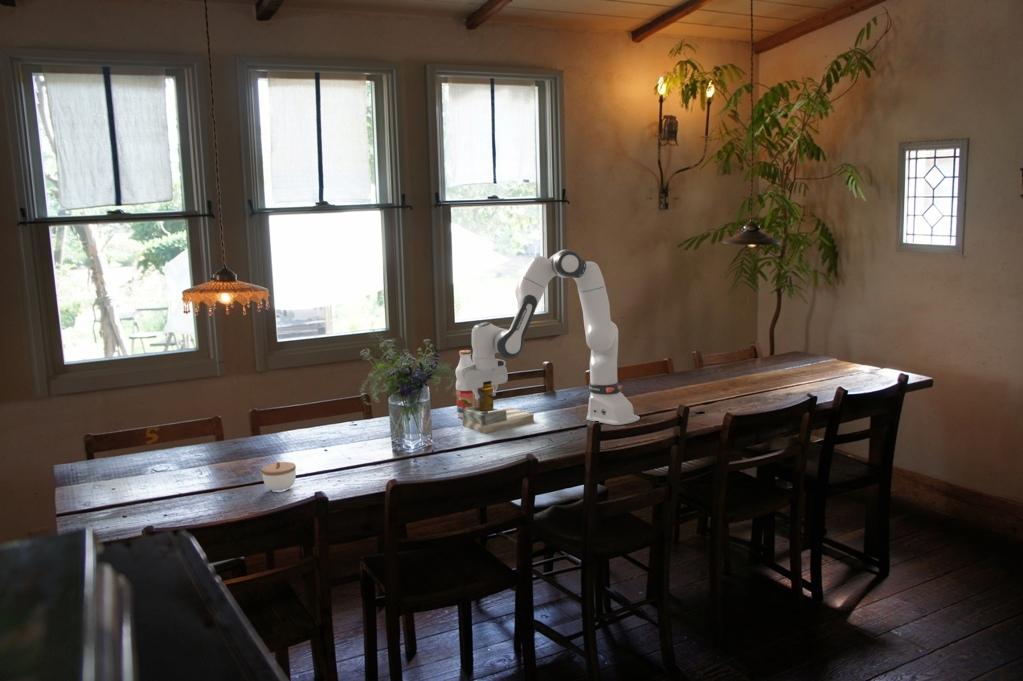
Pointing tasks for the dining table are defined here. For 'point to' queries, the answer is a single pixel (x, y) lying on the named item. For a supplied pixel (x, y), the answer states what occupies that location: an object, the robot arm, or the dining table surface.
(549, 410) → the dining table surface
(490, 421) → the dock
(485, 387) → the condiment
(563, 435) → the dining table surface
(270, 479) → the lidded jar
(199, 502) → the dining table surface
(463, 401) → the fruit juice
